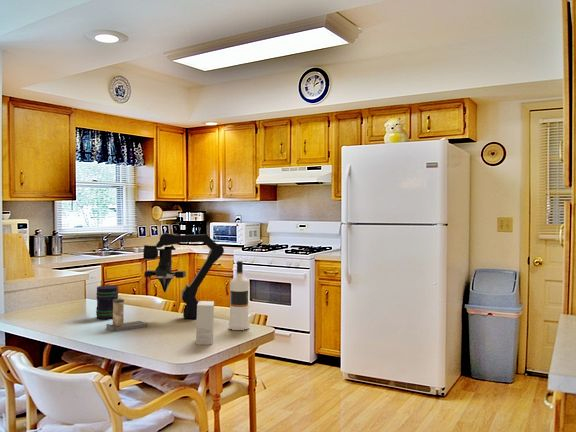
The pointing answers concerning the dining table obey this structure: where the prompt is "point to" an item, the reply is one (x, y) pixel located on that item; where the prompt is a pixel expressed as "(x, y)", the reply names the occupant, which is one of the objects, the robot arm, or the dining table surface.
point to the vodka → (239, 300)
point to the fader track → (126, 326)
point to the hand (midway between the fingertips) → (165, 292)
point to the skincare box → (205, 323)
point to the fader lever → (118, 312)
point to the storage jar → (105, 301)
